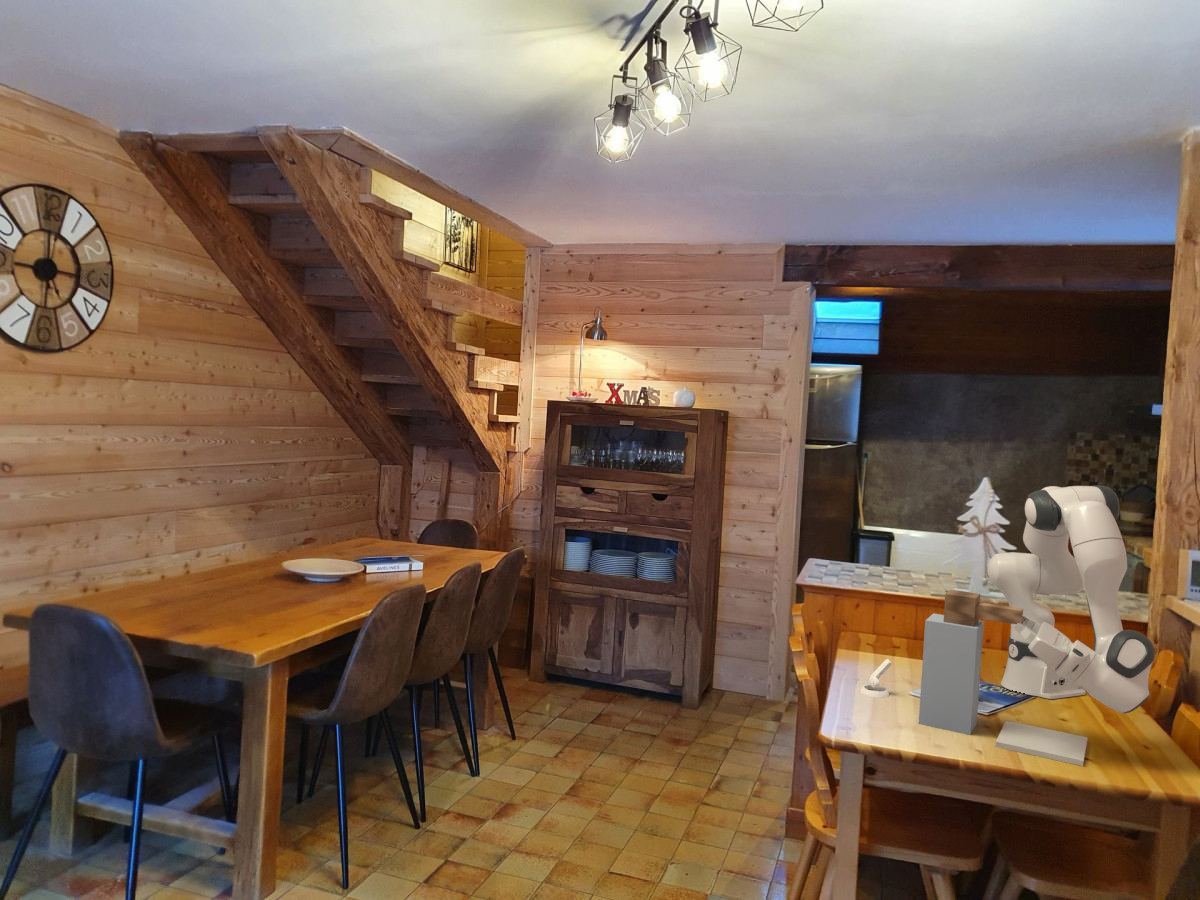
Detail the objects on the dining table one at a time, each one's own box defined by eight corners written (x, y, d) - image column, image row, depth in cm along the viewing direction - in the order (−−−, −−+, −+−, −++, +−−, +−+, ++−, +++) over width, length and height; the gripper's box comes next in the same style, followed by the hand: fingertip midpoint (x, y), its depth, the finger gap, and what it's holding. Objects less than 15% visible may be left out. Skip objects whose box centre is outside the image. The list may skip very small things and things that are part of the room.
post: (976, 723, 221) (983, 621, 219) (970, 734, 212) (977, 628, 211) (926, 712, 227) (933, 613, 226) (918, 723, 218) (925, 620, 217)
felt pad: (1087, 742, 211) (1087, 737, 211) (1082, 766, 196) (1083, 760, 196) (1005, 725, 220) (1005, 720, 220) (995, 746, 205) (995, 741, 205)
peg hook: (1022, 628, 213) (1024, 600, 213) (1019, 634, 207) (1021, 604, 207) (948, 617, 222) (950, 589, 222) (943, 621, 216) (945, 593, 216)
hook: (912, 681, 237) (894, 667, 235) (882, 713, 239) (864, 699, 237) (901, 667, 244) (883, 653, 242) (871, 698, 246) (854, 685, 244)
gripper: (1083, 639, 213) (1030, 603, 219) (1078, 658, 195) (1021, 618, 201) (1067, 659, 215) (1015, 623, 221) (1060, 679, 197) (1004, 639, 203)
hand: (1018, 621), depth 211 cm, fingers open, 8 cm apart
